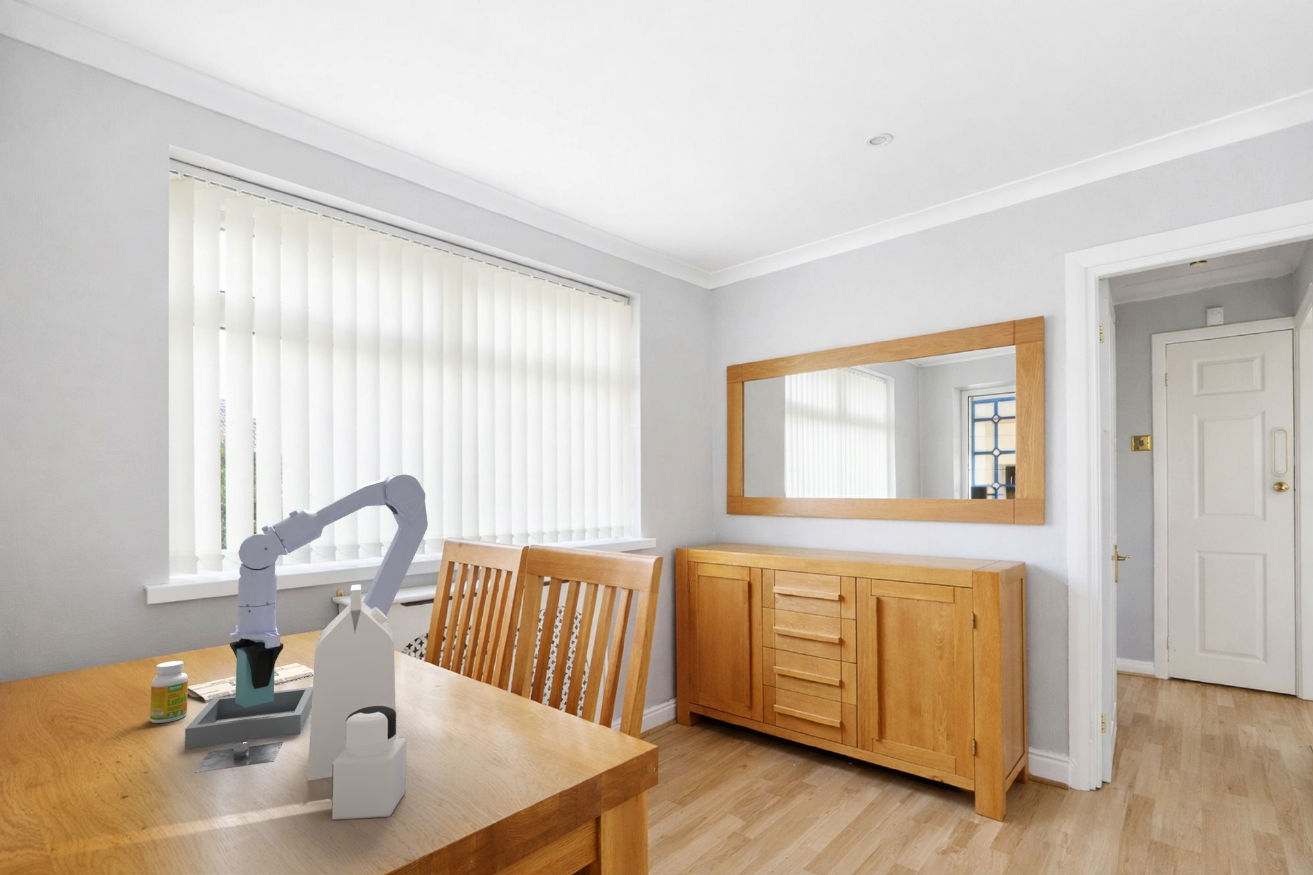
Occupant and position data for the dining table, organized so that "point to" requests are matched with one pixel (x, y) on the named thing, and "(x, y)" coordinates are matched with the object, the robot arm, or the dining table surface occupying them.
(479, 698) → the dining table surface
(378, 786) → the medicine bottle
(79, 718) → the dining table surface
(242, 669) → the strut
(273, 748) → the stud plate
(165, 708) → the supplement bottle
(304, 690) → the bin
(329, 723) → the milk
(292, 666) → the newspaper
